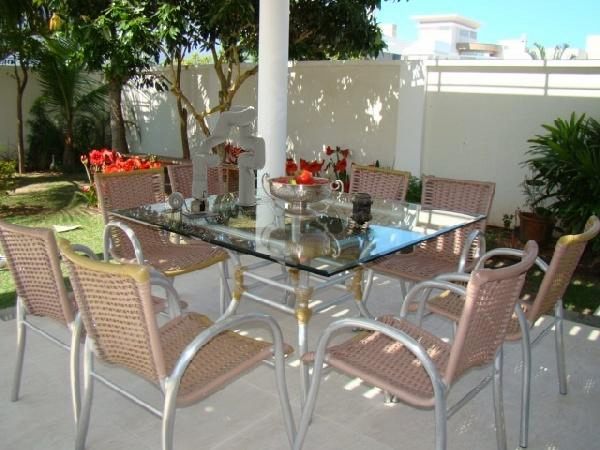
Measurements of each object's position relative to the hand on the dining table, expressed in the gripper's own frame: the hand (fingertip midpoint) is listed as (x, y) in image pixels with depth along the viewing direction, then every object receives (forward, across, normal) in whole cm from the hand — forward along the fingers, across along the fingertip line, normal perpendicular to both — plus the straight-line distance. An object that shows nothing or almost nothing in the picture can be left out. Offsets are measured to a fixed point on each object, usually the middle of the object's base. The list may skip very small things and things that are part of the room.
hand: (200, 209), depth 307 cm
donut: (+3, -19, -5) cm, 20 cm away
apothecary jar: (+3, +64, +61) cm, 88 cm away
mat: (+3, 0, 0) cm, 3 cm away
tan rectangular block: (+1, 0, 0) cm, 1 cm away
